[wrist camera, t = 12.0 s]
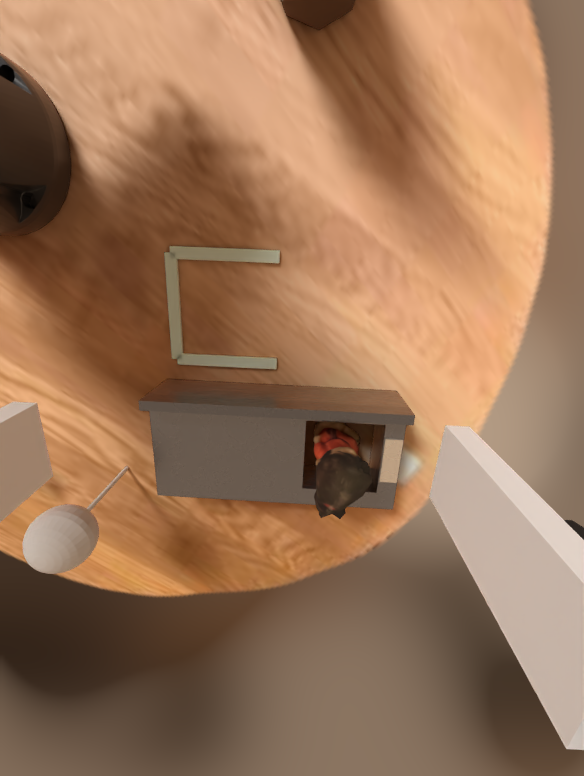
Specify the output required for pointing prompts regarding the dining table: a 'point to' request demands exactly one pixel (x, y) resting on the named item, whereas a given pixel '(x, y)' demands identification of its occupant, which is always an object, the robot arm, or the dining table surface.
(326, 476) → the figurine
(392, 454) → the grey box with compartment
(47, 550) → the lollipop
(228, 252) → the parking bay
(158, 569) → the dining table surface
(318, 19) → the beer bottle
